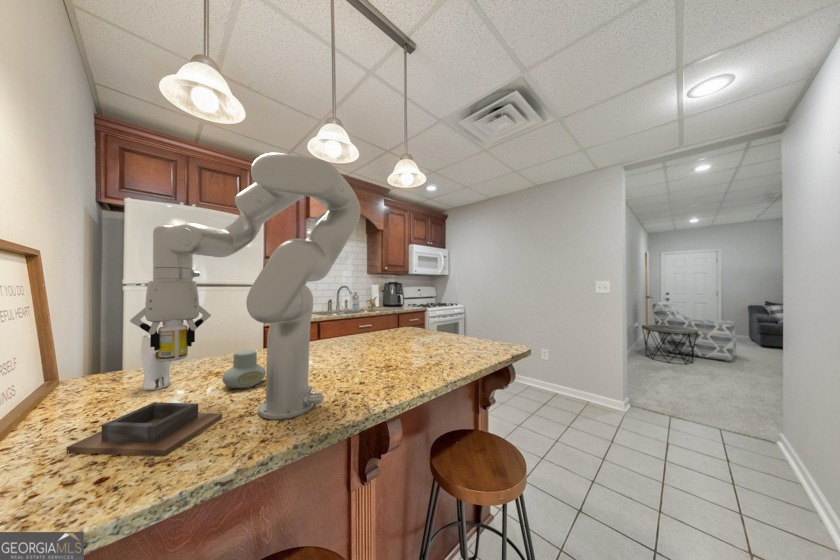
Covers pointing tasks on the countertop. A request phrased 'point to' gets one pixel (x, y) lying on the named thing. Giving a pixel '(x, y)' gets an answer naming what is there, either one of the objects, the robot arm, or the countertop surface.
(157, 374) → the beer glass
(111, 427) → the tray
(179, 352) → the supplement bottle
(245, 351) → the air freshener
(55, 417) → the countertop surface
